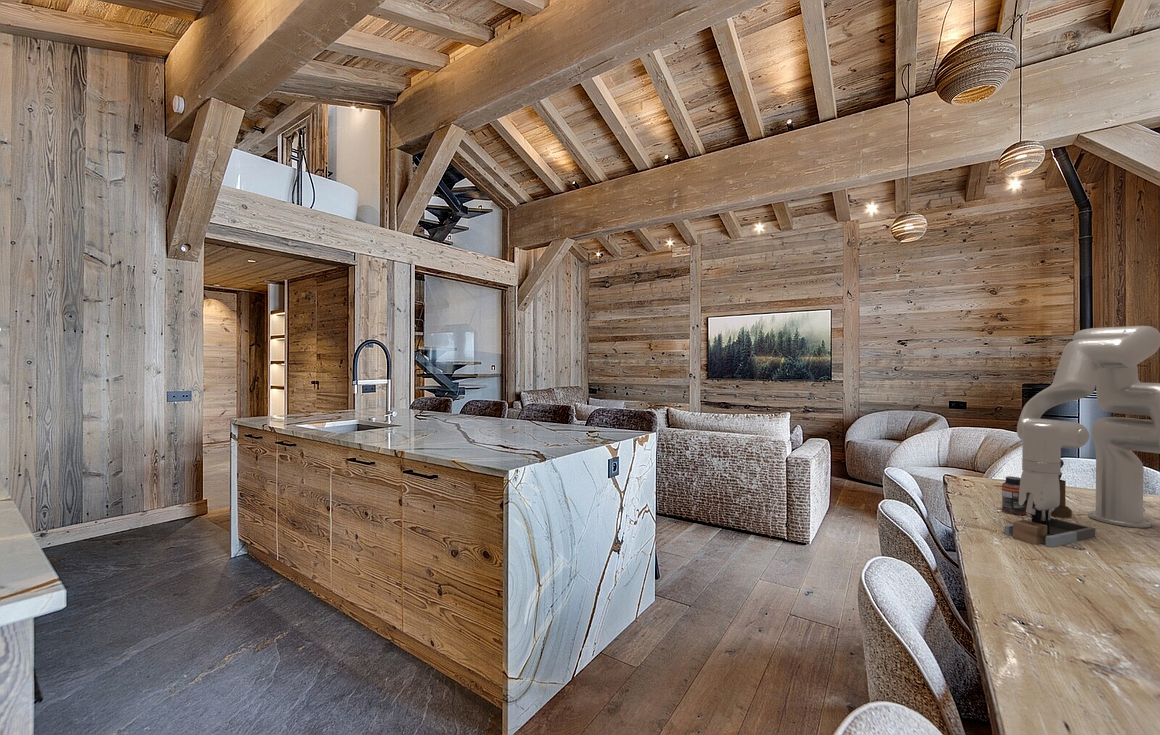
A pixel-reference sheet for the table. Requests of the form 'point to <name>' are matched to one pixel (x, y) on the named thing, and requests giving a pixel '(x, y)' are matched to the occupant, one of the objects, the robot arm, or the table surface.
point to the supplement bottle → (1012, 496)
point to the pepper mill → (1062, 500)
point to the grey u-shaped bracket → (1062, 532)
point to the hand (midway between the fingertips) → (1040, 533)
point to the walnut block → (1029, 532)
